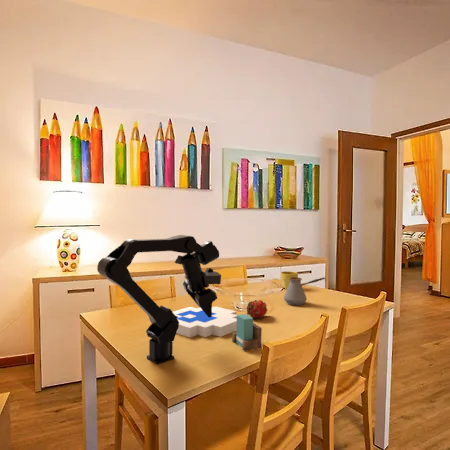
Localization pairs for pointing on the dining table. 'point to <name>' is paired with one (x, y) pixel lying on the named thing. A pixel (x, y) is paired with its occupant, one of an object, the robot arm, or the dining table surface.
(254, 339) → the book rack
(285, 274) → the plant pot
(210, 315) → the robot arm
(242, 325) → the book
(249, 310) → the dragon fruit
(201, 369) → the dining table surface
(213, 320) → the stepped white slab
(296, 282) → the coffee pot
